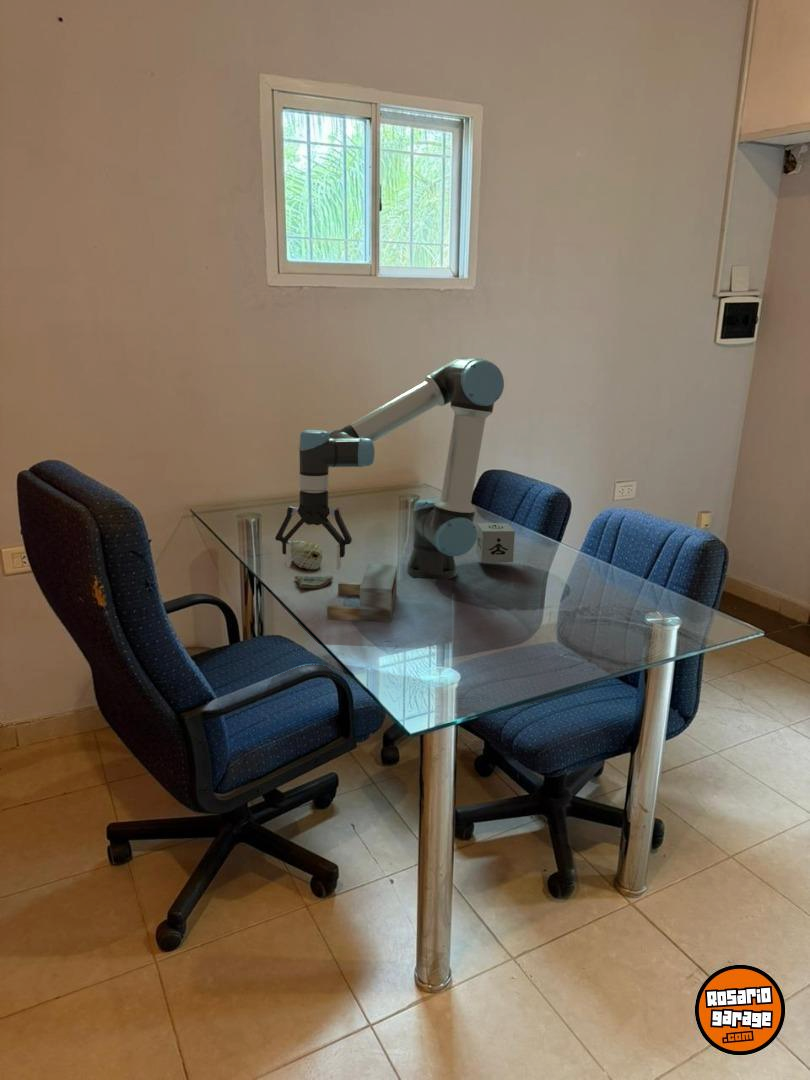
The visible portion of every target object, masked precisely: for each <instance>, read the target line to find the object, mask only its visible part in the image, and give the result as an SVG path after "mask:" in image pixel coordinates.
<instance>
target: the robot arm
mask: <svg viewBox="0 0 810 1080" xmlns="http://www.w3.org/2000/svg"><path fill="white" fill-rule="evenodd" d="M504 379H505V378H504V375H503V373H502V371H501V369H500V368H499V367H498V365H497V364H495V363H494V362H491V361H489V360H486V359H483V358H470V357H469V358H468V357H460V358H456V359H454V360H452V361H450V362H448V363H446V364H444V365H443V366H441V367H440V368H438V369H436V370H434V371H433V372H431V373H429V374H428V375H426V376H425V377H424V381H423V382H421V383H419V384H417V385H416V386H414V387H413V388H411V389H409V390H407V391H406V392H404V393H402V394H399V395H398V396H397V397H395V398H393V399H392V400H390V401H388V402H386V403H384V404H383V405H381V406H379V407H378V408H376V409H374V410H372V411H371V412H369V413H367V414H365V415H364V416H362V417H360V418H359V419H357V420H355V421H353V422H351V423H350V424H348V425H346V426H344V427H342V428H341V429H336V430H335V429H334V430H331V431H329V432H328V431H327V430H322V429H306V430H303V431H301V433H300V435H299V447H298V449H299V450H298V451H299V482H298V483H299V489H300V490H299V506H298V507H295V506H294V505H290V506H289V507H288V508H287V510H286V516H285V518H284V520H283V522H282V524H281V526H280V528H279V529H278V532H277V534H276V535H275V537H274V539H275V540H276V541H279V542H281V544H282V545H281V548H282V555H285V557H286V558H285V559H286V561H285V563H286V567H285V568H289V567H291V565H292V557H291V542H292V541H291V540H290V539H291V538H292V536H293V535H294V534H296V532H297V531H298V530H299V528H301V527H302V526H303V524H306V525H307V526H308V525H309V526H310V525H315V526H320V525H322V526H323V527H324V528H325V529H326V530H327V531H328V533H329V534H330V535H331V537H333V539H334V540H335V541H336V542H337V545H336V570H337V571H340V569H341V567H342V558H344V557H345V555H346V546H347V545H351V543H352V541H353V538H352V536H351V534H350V532H349V531H348V530H349V529H348V528H347V526H346V524H345V522H344V520H343V518H342V515H341V509H340V507H336V508H333V509H331V508H330V507H329V491H328V488H329V469H330V468H356V467H357V468H361V467H370V466H372V465H373V464H374V461H375V446H374V445H375V444H374V442H376V441H377V440H379V439H381V438H382V437H384V436H386V435H387V434H390V433H391V432H393V431H395V430H397V429H398V428H400V427H401V426H404V425H406V424H407V423H408V422H410V421H412V420H414V419H416V418H417V417H419V416H421V415H422V414H424V413H426V412H428V411H430V410H432V409H433V408H435V407H437V406H439V407H444V406H445V405H447V404H449V403H450V408H451V409H452V411H453V412H454V414H453V421H452V429H451V434H450V440H449V445H448V451H447V459H446V465H445V470H444V477H443V481H442V482H443V484H442V489H441V496H440V498H425V499H419V500H416V501H415V502H414V507H413V543H412V544H413V545H412V551H411V554H410V556H409V560H408V562H407V564H406V572H407V573H408V575H409V576H411V577H412V578H414V579H419V580H420V579H423V580H425V579H426V580H445V581H447V580H450V579H452V578H454V577H456V576H457V570H458V569H457V564H456V560H455V558H454V557H460V556H463V555H465V554H467V553H468V552H469V551H471V550H472V548H474V546H475V544H476V543H477V526H476V525H475V523H474V520H475V513H476V509H475V507H474V506H473V505H472V499H473V493H474V488H475V487H474V486H475V481H476V476H477V471H478V470H477V469H478V465H479V459H480V452H481V448H482V443H483V437H484V432H485V431H484V429H485V424H486V419H487V418H488V417H489V416H490V415H492V414H493V410H494V406H495V403H496V402H497V401H498V400H499V399H500V398H501V396H502V394H503V392H504V388H505V381H504ZM296 513H298V515H299V517H300V519H299V520H298V521H297V523H295V525H294V526H293V527H292V528H291V529H290V531H288V533H287V534H286V535H284V533H285V531H286V530H287V527H288V526H289V523H290V521H291V520H292V519H293V516H295V515H296ZM329 515H331V517H332V518H334V520H335V522H336V524H337V526H338V529H339V531H340V532H341V533H339V532H338V530H337V529H336V528H335V527H334V525H333V524H332V522H331V521H330V519H329V518H328V516H329ZM289 540H290V541H289Z"/></svg>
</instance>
